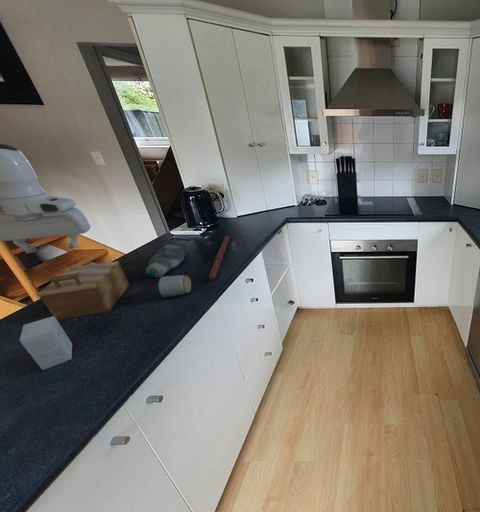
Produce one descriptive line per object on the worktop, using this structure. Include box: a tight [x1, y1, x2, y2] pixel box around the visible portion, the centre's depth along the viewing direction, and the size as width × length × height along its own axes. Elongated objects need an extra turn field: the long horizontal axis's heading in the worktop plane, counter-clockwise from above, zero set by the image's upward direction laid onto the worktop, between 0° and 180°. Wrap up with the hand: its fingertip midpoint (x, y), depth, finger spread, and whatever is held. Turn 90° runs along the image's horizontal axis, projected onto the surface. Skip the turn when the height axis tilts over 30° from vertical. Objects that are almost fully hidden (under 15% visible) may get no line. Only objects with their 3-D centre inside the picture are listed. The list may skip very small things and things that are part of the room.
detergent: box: [144, 243, 187, 279], centre depth 118 cm, size 13×7×25 cm
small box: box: [18, 315, 73, 371], centre depth 72 cm, size 8×6×10 cm
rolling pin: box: [208, 235, 231, 281], centre depth 129 cm, size 45×3×3 cm, turn 20°
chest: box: [39, 263, 130, 321], centre depth 96 cm, size 18×14×10 cm
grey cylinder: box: [158, 274, 192, 298], centre depth 102 cm, size 11×8×8 cm
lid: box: [36, 260, 120, 297], centre depth 92 cm, size 18×14×5 cm
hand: (53, 250), depth 82 cm, fingers open, 8 cm apart
